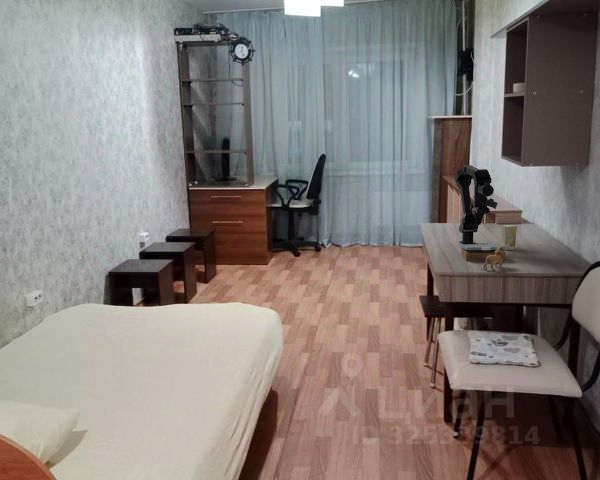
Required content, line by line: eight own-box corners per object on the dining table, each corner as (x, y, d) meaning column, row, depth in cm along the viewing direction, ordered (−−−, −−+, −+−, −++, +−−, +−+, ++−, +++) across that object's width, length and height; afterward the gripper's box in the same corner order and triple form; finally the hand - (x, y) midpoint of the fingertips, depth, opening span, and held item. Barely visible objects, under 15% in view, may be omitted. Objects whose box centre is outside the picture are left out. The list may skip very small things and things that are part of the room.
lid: (460, 247, 283) (461, 244, 283) (497, 246, 282) (497, 244, 282) (467, 250, 270) (467, 247, 270) (505, 249, 269) (505, 247, 269)
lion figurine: (495, 264, 265) (496, 245, 263) (506, 266, 262) (507, 247, 260) (480, 270, 255) (481, 251, 253) (491, 273, 252) (492, 253, 250)
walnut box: (460, 254, 284) (460, 247, 283) (497, 254, 283) (497, 246, 282) (466, 261, 272) (466, 253, 271) (504, 260, 271) (505, 252, 270)
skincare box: (504, 250, 290) (506, 226, 287) (499, 248, 294) (501, 225, 291) (515, 249, 291) (517, 225, 289) (510, 247, 296) (511, 224, 293)
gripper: (501, 196, 277) (500, 227, 280) (492, 192, 295) (491, 221, 298) (477, 196, 278) (476, 228, 281) (470, 192, 296) (469, 222, 299)
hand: (479, 224), depth 290 cm, fingers closed
